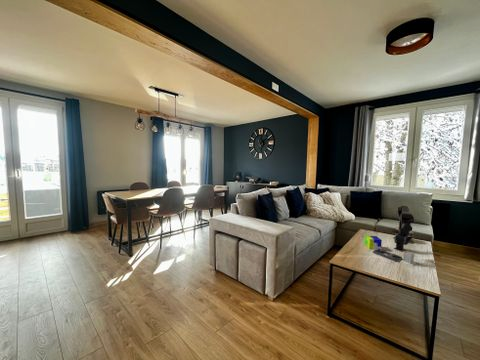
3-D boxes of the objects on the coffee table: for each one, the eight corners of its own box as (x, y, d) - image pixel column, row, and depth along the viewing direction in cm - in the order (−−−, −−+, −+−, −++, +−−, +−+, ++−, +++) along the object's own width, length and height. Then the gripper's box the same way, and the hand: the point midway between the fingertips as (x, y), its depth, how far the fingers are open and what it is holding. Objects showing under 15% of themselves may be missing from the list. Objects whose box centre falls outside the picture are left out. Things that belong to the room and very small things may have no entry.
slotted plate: (379, 250, 183) (379, 248, 183) (402, 259, 167) (402, 257, 167) (373, 252, 179) (373, 250, 178) (396, 261, 163) (396, 259, 162)
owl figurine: (391, 239, 212) (392, 223, 211) (393, 236, 220) (394, 221, 218) (413, 244, 199) (414, 228, 197) (414, 241, 206) (416, 225, 205)
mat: (404, 259, 167) (404, 258, 167) (416, 263, 160) (416, 263, 160) (399, 261, 164) (399, 260, 164) (411, 265, 157) (411, 265, 156)
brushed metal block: (405, 260, 165) (406, 250, 165) (413, 262, 161) (414, 253, 160) (403, 261, 163) (403, 252, 162) (410, 264, 159) (411, 254, 158)
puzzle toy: (380, 250, 184) (381, 240, 183) (369, 249, 186) (369, 239, 185) (375, 245, 194) (376, 236, 193) (364, 244, 196) (365, 235, 195)
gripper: (399, 223, 177) (398, 239, 178) (388, 226, 168) (387, 244, 170) (415, 227, 167) (413, 244, 169) (404, 231, 158) (402, 249, 160)
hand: (403, 245), depth 167 cm, fingers open, 9 cm apart
